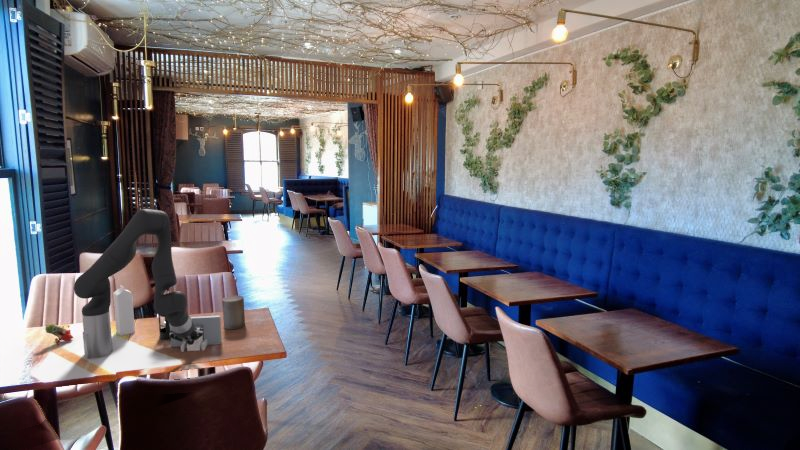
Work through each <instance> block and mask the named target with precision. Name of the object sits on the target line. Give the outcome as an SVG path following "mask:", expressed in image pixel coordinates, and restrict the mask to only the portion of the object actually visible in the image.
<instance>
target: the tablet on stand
mask: <svg viewBox="0 0 800 450" xmlns="http://www.w3.org/2000/svg"><path fill="white" fill-rule="evenodd" d="M190 317H191V319H192V321H193V324H194V326H200V325H202V329H203V343H202V344H201V347H202V348H201V351H205V350H206V348H207V346H208V345H211V346H212V345H221V344H222V343H223V342H222V341H223V339H222V336H223V335H222V317H221V315H205V316H204V315H203V316H190ZM170 331H172V329H171V327H170ZM178 338H180V337H178ZM170 346H171V348H173V347H174V348H175V347H176V348H177V347H180V352H184V351H185V350H187V343H186V342H185V341H184V340H183V341H178V340H175V339H172V338H171V340H170Z"/></svg>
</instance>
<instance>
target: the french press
mask: <svg viewBox="0 0 800 450" xmlns="http://www.w3.org/2000/svg"><path fill="white" fill-rule="evenodd" d="M172 288H174V286H173V287H171V288H169V289H167V290H166V292H167V294H168V293H170V289H172ZM157 315H158V314H157ZM157 317H158V328H159V329H158V330H159V337H158V338H159V340H162V341H171V338H169V334H170V325H169V322H168V320H167V319H166V316H165V315H162V316H161V315H158V316H157ZM161 317H164V321H161Z"/></svg>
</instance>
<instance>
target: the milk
mask: <svg viewBox="0 0 800 450" xmlns="http://www.w3.org/2000/svg"><path fill="white" fill-rule="evenodd" d="M112 296H113V305H114V317H115V318H114V319H115V321H114V322H115V331H116V333H117V335H119V336H121V337H122V336H126V335H130V334H134V333H136V326H135V325H136V324H135V313H134V312H135V311H134V301H133V292H131V291H130V290H128V289H125V286H123V285H122V284H119V288H118V289H117V290H115V291H113V295H112Z"/></svg>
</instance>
